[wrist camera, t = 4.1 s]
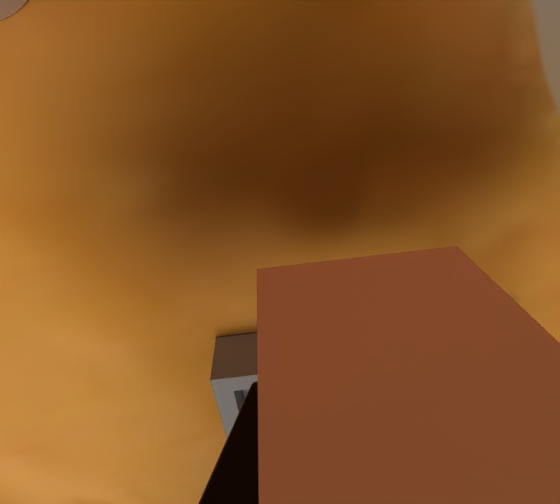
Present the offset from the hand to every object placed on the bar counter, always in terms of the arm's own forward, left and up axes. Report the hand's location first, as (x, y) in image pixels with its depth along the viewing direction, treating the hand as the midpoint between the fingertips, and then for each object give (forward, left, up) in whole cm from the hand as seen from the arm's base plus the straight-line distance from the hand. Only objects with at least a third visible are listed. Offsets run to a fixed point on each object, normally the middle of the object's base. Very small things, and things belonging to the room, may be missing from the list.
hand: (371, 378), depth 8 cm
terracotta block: (0, 0, -2) cm, 2 cm away
